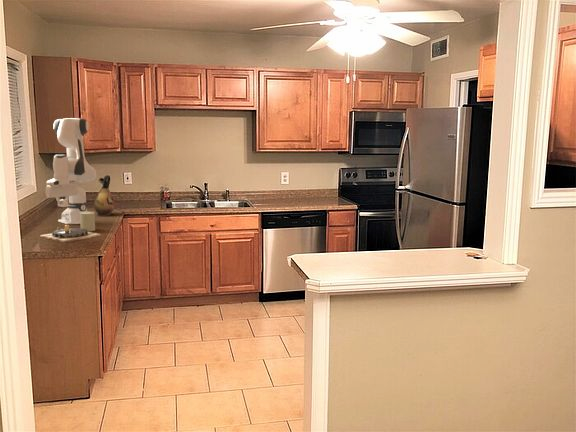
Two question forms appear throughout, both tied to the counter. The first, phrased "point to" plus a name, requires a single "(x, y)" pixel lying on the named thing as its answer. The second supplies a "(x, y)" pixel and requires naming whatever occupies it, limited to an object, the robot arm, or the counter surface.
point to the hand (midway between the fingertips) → (62, 203)
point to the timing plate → (69, 239)
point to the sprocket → (69, 232)
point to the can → (87, 220)
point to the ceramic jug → (104, 198)
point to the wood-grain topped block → (63, 203)
